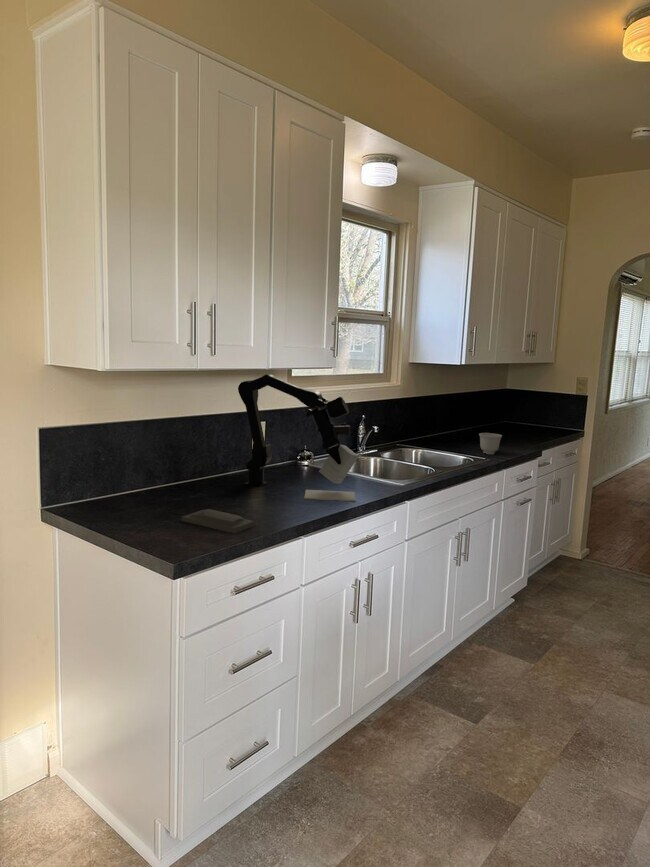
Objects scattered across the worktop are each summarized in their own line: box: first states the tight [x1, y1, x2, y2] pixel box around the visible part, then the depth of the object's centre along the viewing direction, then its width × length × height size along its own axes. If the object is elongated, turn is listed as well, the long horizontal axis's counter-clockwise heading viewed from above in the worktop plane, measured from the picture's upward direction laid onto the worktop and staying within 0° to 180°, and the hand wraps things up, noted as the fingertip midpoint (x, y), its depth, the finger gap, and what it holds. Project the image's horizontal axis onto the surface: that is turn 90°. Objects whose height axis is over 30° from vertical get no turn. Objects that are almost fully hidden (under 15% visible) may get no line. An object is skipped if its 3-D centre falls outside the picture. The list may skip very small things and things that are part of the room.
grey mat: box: [303, 489, 356, 502], centre depth 235 cm, size 18×12×1 cm, turn 89°
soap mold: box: [181, 508, 256, 534], centre depth 196 cm, size 10×20×4 cm, turn 59°
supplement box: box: [318, 443, 359, 484], centre depth 240 cm, size 7×7×13 cm
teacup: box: [478, 432, 503, 455], centre depth 343 cm, size 12×15×10 cm
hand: (339, 462), depth 240 cm, fingers closed on supplement box, 9 cm apart
